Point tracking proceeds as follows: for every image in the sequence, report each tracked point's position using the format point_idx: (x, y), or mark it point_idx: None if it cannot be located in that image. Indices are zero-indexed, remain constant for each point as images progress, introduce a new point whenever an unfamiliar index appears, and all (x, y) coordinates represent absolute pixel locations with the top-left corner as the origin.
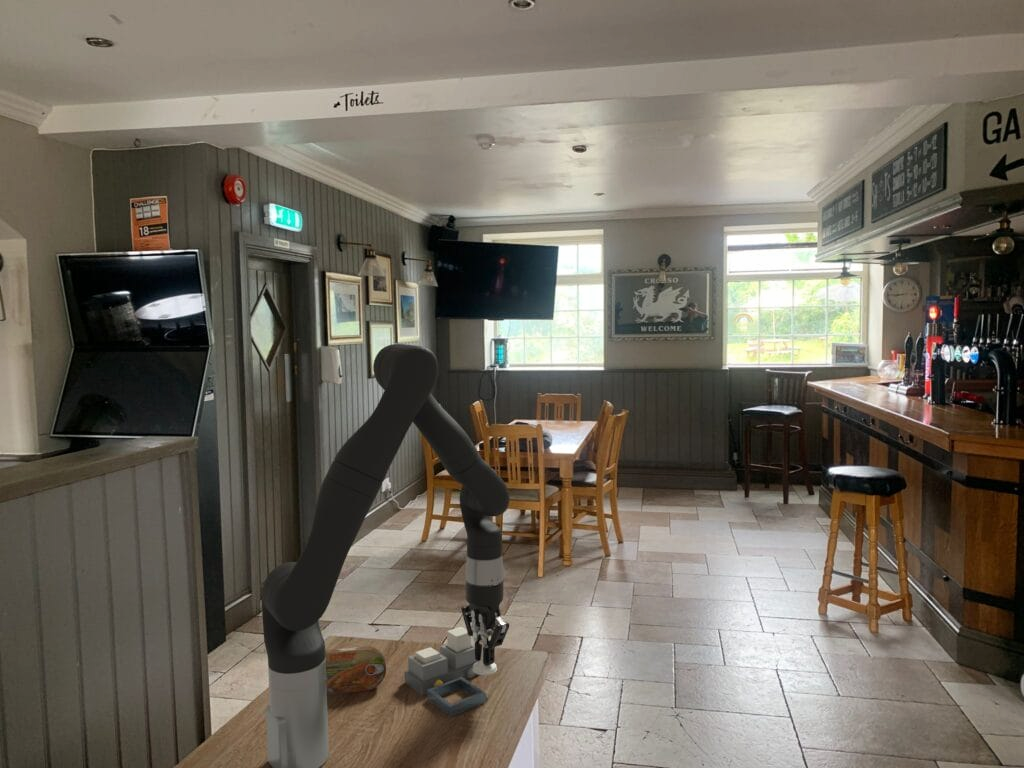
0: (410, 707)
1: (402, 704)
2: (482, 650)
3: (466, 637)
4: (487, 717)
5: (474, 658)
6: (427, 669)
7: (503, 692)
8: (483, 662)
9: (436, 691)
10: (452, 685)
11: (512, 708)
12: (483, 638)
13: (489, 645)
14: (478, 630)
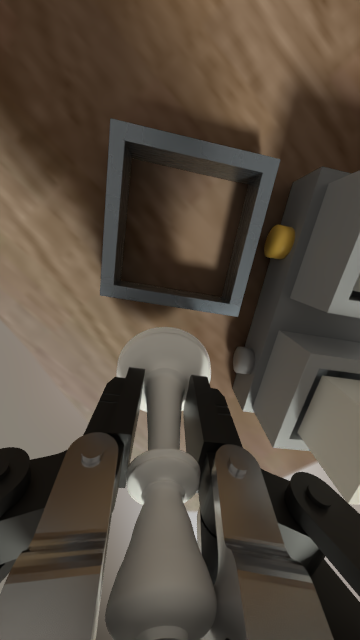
0: (278, 85)
1: (317, 80)
2: (163, 420)
3: (341, 460)
4: (35, 228)
5: (262, 405)
6: (357, 197)
7: (116, 358)
8: (142, 372)
9: (252, 199)
10: (234, 269)
11: (30, 315)
12: (102, 512)
13: (1, 466)
14: (220, 587)
